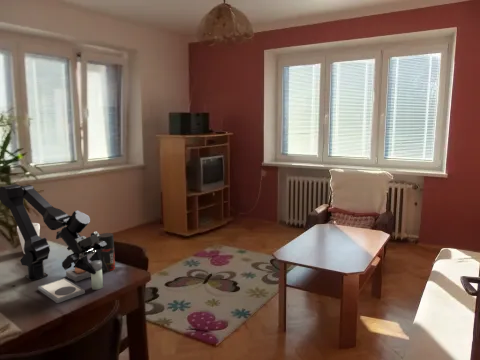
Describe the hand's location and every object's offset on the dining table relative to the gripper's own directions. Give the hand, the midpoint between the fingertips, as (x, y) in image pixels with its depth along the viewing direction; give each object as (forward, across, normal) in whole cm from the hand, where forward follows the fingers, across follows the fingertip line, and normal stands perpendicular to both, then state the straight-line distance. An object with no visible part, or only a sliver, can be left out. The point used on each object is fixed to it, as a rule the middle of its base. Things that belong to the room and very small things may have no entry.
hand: (99, 271), depth 141 cm
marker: (+4, 0, +6) cm, 7 cm away
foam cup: (-36, +20, +46) cm, 62 cm away
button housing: (-6, +6, +15) cm, 18 cm away
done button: (-7, +6, +14) cm, 17 cm away
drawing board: (-4, -7, +13) cm, 15 cm away
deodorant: (-2, +16, +11) cm, 20 cm away
